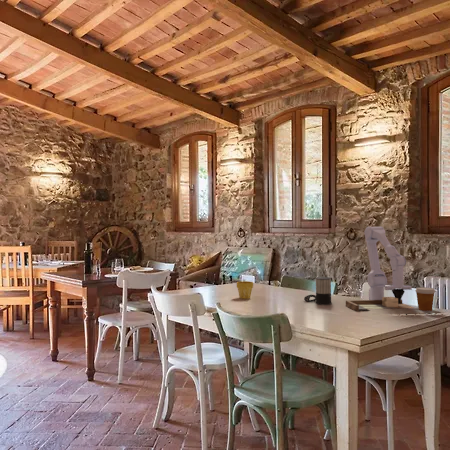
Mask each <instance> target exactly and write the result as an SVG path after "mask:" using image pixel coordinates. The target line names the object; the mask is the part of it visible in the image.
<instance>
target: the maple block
mask: <svg viewBox="0 0 450 450" xmlns="http://www.w3.org/2000/svg"><path fill="white" fill-rule="evenodd" d="M382 305H383V306H386V307H398V298H395V296H384V297H382Z"/></svg>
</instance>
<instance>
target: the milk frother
mask: <svg viewBox="0 0 450 450" xmlns="http://www.w3.org/2000/svg"><path fill="white" fill-rule="evenodd" d="M311 298H314V299H311ZM304 301H305V302H311V303H313V302H315V304H317V305H324V306H325V305H326V306H327V305H332V277H327V276H317V277H315V294H308V295H305V296H304Z"/></svg>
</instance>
